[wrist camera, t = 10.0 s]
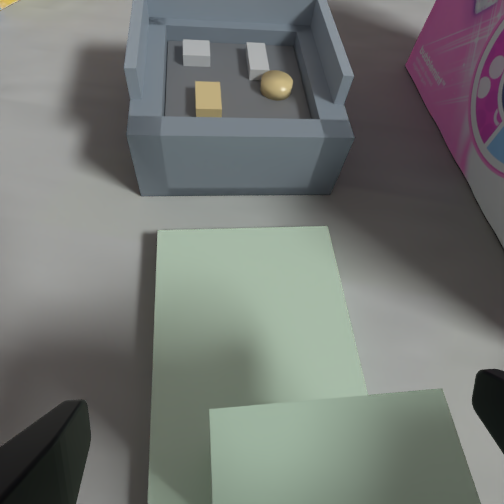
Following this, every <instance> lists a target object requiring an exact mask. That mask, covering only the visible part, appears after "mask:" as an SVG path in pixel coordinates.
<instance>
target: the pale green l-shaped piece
mask: <svg viewBox="0 0 504 504" xmlns="http://www.w3.org/2000/svg"><path fill="white" fill-rule="evenodd" d="M148 504H481V503H480V500H479V497H478V494H477V491H476V488H475V485H474V482H473V479H472V476H471V473H470V470H469V467H468V464H467V461H466V458H465V455H464V452H463V449H462V446H461V443H460V440H459V437H458V434H457V431H456V428H455V425H454V422H453V419H452V416H451V413H450V410H449V407H448V404H447V401H446V398H445V396H444V393H443V390H442V389H431V390H419V391H408V392H397V393H386V394H374V395H368V393H367V389H366V384H365V380H364V376H363V372H362V368H361V364H360V359H359V355H358V351H357V347H356V343H355V338H354V334H353V330H352V326H351V322H350V318H349V313H348V309H347V305H346V301H345V297H344V292H343V288H342V284H341V280H340V276H339V272H338V267H337V263H336V259H335V255H334V251H333V246H332V242H331V238H330V234H329V230H328V226H308V227H268V228H229V229H189V230H158V233H157V260H156V287H155V314H154V341H153V369H152V396H151V423H150V450H149V477H148Z"/></svg>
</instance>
